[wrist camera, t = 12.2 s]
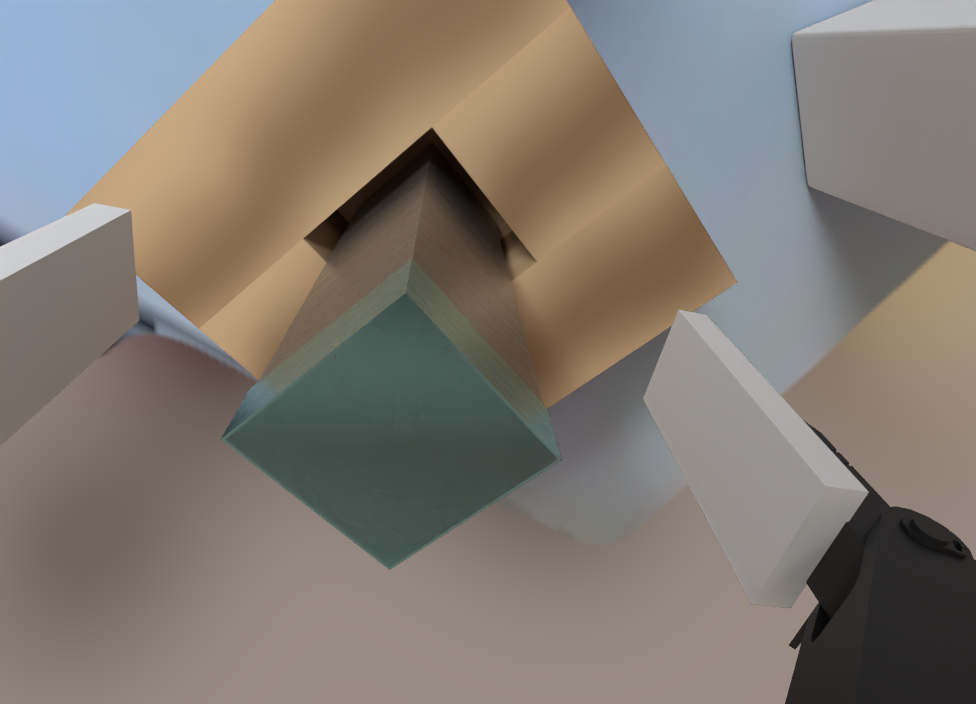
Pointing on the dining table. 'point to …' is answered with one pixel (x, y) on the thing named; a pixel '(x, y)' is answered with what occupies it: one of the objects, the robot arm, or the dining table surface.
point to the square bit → (403, 374)
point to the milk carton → (894, 111)
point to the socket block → (391, 146)
